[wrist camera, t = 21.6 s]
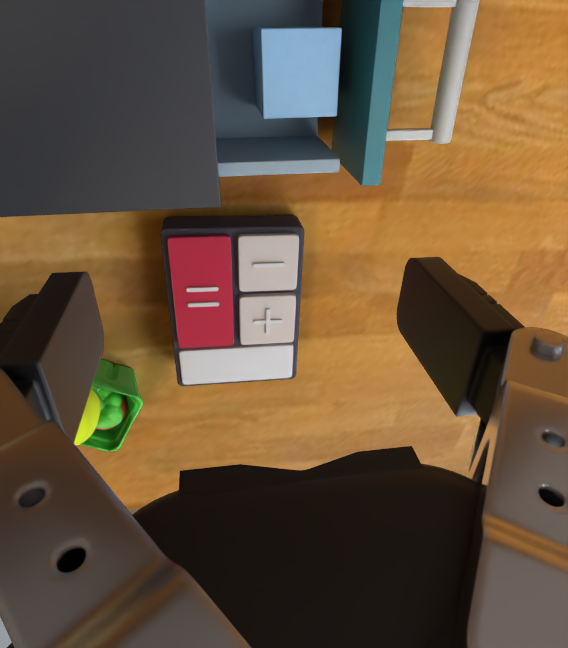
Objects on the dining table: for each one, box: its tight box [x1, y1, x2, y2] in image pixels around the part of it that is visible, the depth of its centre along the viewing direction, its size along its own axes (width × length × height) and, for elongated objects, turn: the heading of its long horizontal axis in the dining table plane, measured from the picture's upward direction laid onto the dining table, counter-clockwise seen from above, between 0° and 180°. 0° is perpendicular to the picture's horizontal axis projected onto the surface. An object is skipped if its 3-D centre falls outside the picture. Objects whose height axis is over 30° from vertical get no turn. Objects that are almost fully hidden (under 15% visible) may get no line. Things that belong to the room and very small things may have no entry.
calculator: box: [161, 215, 304, 386], centre depth 39 cm, size 11×4×15 cm
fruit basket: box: [74, 359, 143, 452], centre depth 38 cm, size 11×9×11 cm
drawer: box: [205, 0, 479, 186], centre depth 27 cm, size 19×12×8 cm, turn 90°
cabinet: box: [0, 0, 221, 217], centre depth 25 cm, size 15×13×10 cm
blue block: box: [253, 27, 342, 119], centre depth 27 cm, size 4×4×5 cm
